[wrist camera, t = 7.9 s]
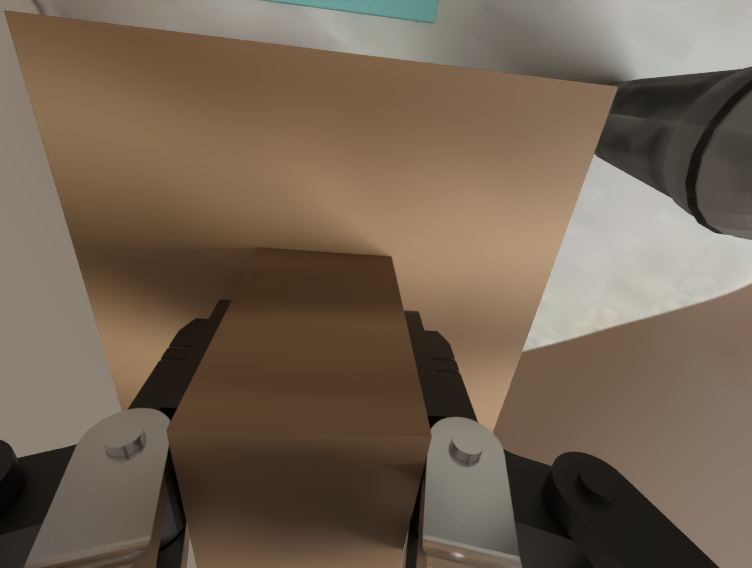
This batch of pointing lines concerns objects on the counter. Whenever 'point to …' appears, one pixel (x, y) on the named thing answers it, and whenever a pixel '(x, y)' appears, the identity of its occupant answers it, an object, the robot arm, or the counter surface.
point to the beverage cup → (688, 143)
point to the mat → (377, 7)
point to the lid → (304, 257)
